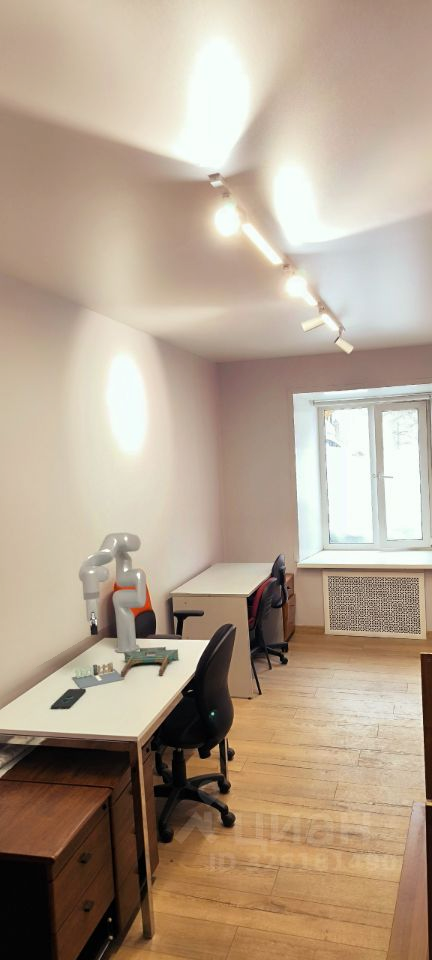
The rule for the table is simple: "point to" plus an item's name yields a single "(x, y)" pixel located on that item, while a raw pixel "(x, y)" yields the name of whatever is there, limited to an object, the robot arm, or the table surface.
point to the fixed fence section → (110, 669)
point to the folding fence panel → (83, 672)
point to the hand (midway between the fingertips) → (94, 632)
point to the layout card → (98, 679)
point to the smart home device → (68, 699)
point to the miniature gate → (149, 657)
